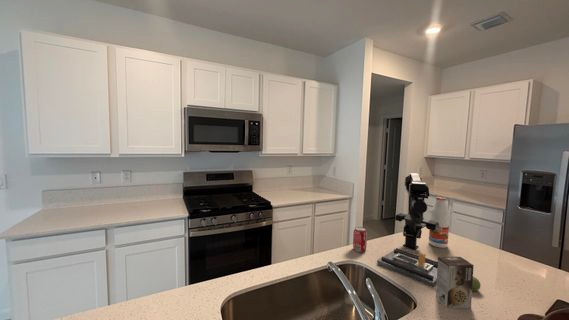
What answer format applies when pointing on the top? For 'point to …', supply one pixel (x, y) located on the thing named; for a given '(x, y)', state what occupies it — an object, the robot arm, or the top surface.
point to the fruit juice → (441, 216)
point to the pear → (475, 284)
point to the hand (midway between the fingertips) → (415, 237)
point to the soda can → (359, 239)
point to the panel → (411, 263)
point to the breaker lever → (421, 260)
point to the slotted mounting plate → (414, 258)
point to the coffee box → (454, 282)
